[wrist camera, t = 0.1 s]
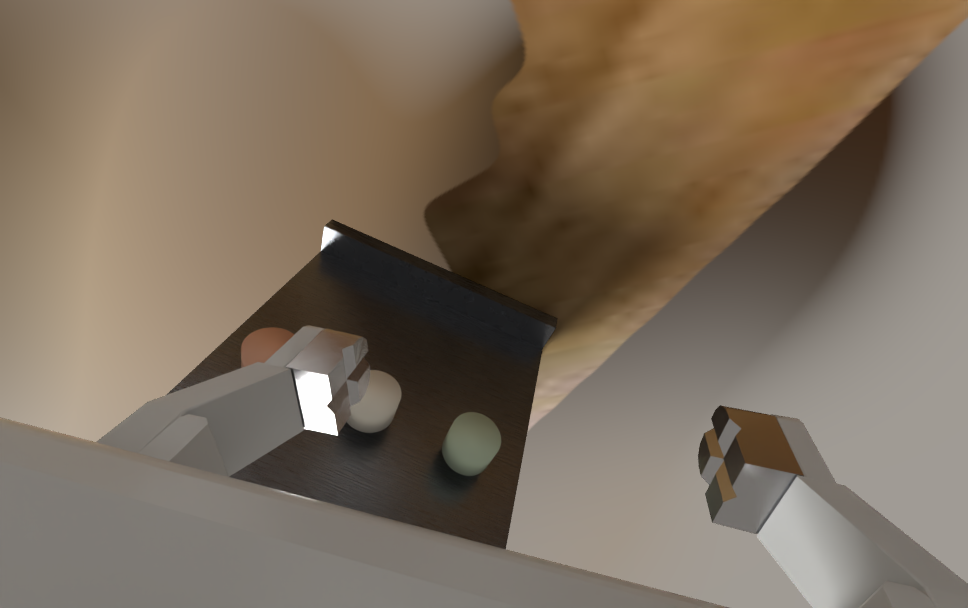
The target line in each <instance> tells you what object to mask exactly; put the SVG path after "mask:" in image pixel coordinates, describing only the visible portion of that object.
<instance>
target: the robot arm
mask: <svg viewBox="0 0 968 608" xmlns="http://www.w3.org/2000/svg"><path fill="white" fill-rule="evenodd" d="M367 352H368V345H367V340H366V339H365V338H364V337H362V336H358V335H353V334H349V333H344V332H339V331H335V330H330V329H324V328H319V327H315V326H310V325H308V326H304V327H302V328H301V329H300V330H299V331H298V332H297V333H296V334H295V335H294V336H293V337H291V338H290V339H289V340H288V341H287V342H286V343H285V344H284V345H283V346H282V347H281V348H280V349H279V350H278V351H276V352H275V353H274V354H273V355H272V356H271V357H270V358H269V359H268V360H267V361H266V362H265V363H261V362H257V363H254V364H251V365H248V366H246V367H243V368H240V369H237V370H235V371H232V372H229V373H226V374H223V375H221V376H218V377H215V378H212V379H210V380H207V381H204V382H201V383H199V384H196V385H193V386H190V387H187V388H185V389H182V390H179V391H176V392H174V393H171V394H168V395H165V396H163V397H160V398H157V399H154V400H152V401H149V402H147V403H145V404H144V405H143V406H142V407H141V408H139V409H138V410H136V411H135V412H134V413H133V414H131V415H130V416H129V417H128V418H126V419H125V420H124V421H123V422H121V423H120V424H119V425H118V426H116V427H115V428H114V429H112V430H111V431H110V432H108V433H107V434H106V435H104V436H103V437H102V438H101V439H99V440H98V441H97V442H93V441H89V440H85V439H81V438H77V437H74V436H70V435H66V434H62V433H59V432H55V431H51V430H47V429H43V428H39V427H35V426H32V425H28V424H24V423H20V422H16V421H12V420H9V419H5V418H1V417H0V608H728V607H724V606H721V605H717V604H713V603H709V602H705V601H702V600H698V599H694V598H690V597H686V596H682V595H678V594H675V593H671V592H667V591H663V590H659V589H656V588H651V587H648V586H644V585H640V584H636V583H633V582H629V581H625V580H621V579H617V578H613V577H609V576H606V575H602V574H598V573H594V572H590V571H587V570H582V569H578V568H575V567H571V566H567V565H563V564H559V563H556V562H552V561H548V560H544V559H540V558H537V557H533V556H528V555H525V554H521V553H518V552H514V551H510V550H506V549H502V548H499V547H495V546H491V545H487V544H483V543H479V542H476V541H472V540H468V539H464V538H460V537H457V536H453V535H449V534H445V533H441V532H437V531H434V530H430V529H426V528H422V527H418V526H415V525H411V524H407V523H403V522H399V521H395V520H392V519H388V518H384V517H380V516H376V515H372V514H369V513H365V512H361V511H357V510H353V509H350V508H346V507H342V506H338V505H334V504H330V503H327V502H323V501H319V500H315V499H311V498H307V497H304V496H300V495H296V494H292V493H288V492H284V491H281V490H277V489H273V488H269V487H265V486H262V485H258V484H254V483H250V482H246V481H242V480H239V479H235V478H231V477H229V476H231V475H233V474H234V473H236V472H237V471H239V470H241V469H242V468H244V467H246V466H247V465H249V464H250V463H252V462H254V461H255V460H257V459H258V458H260V457H262V456H263V455H265V454H266V453H268V452H270V451H271V450H273V449H275V448H276V447H278V446H279V445H281V444H283V443H284V442H286V441H287V440H289V439H291V438H292V437H294V436H295V435H297V434H299V433H300V432H302V431H303V430H304V428H305V429H310V430H315V431H319V432H324V433H329V434H334V435H338V433H339V432H340V431H341V429H342V428H343V426H344V425H345V423H346V422H347V420H348V419H349V417H350V416H351V409H350V407H351V406H353V405H355V404H357V403H359V402H360V401H361V399H362V398H363V396H364V395H365V393H366V390H367V388H368V385H369V381H370V365H369V364H368V362H367V361H366V360H365V358H364V356H365V355H366V353H367ZM711 419H712V422H713V426H714V428H713V429H711V430H710V431H707V432H706V433H704V436H703V438H702V441H701V443H700V447H699V454H698V460H699V469H700V474H701V477H702V478H703V479H704V480H705V481H706V482H707V483H708V484H709V485H710V486H709V488H708V490H707V492H706V494H705V495H706V499H707V503H708V507H709V511H710V515H711V519H712V523H716V524H720V525H723V526H727V527H731V528H735V529H739V530H743V531H746V532H750V533H754V534H758V535H757V537H758V539H759V540H760V541H761V542H762V544H763V545H764V546H765V548H766V549H767V550H768V551H769V553H770V554H771V555H772V556H773V558H774V559H775V560H776V562H777V563H778V564H779V565H780V567H781V568H782V569H783V570H784V572H785V573H786V574H787V576H788V577H789V578H790V580H791V581H792V582H793V583H794V585H795V586H796V587H797V588H798V590H799V591H800V592H801V593H802V595H803V596H804V597H805V599H806V600H807V601H808V602H809V604H810V605H811V606H812V608H968V583H966V582H965V581H964V580H963V579H961V578H960V577H959V576H958V575H956V574H955V573H954V572H952V571H951V570H950V569H949V568H948V567H946V566H945V565H944V564H943V563H941V562H940V561H939V560H938V559H936V558H935V557H934V556H933V555H931V554H930V553H929V552H928V551H926V550H925V549H924V548H923V547H921V546H920V545H919V544H918V543H916V542H915V541H914V540H913V539H911V538H910V537H909V536H908V535H906V534H905V533H904V532H903V531H901V530H900V529H899V528H898V527H896V526H895V525H894V524H893V523H891V522H890V521H889V520H888V519H886V518H885V517H884V516H883V515H881V514H880V513H879V512H878V511H876V510H875V509H874V508H873V507H871V506H870V505H869V504H868V503H866V502H865V501H864V500H862V499H861V498H860V497H859V496H858V495H856V494H855V493H854V492H852V491H851V490H850V489H849V488H848V487H846V486H844V485H840V484H837V483H836V482H835V480H834V478H833V476H832V474H831V473H830V471H829V469H828V467H827V465H826V464H825V462H824V460H823V458H822V456H821V455H820V453H819V451H818V449H817V447H816V446H815V444H814V442H813V440H812V438H811V436H810V435H809V433H808V431H807V429H806V428H805V426H804V424H803V423H802V422H801V421H800V420H799V419H796V418H790V417H783V416H778V415H768V414H763V413H758V412H753V411H748V410H742V409H737V408H732V407H726V406H721V405H720V406H719V407H718V408H717V409H716V410H715V412H714V414H713V416H712V418H711Z"/></svg>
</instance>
